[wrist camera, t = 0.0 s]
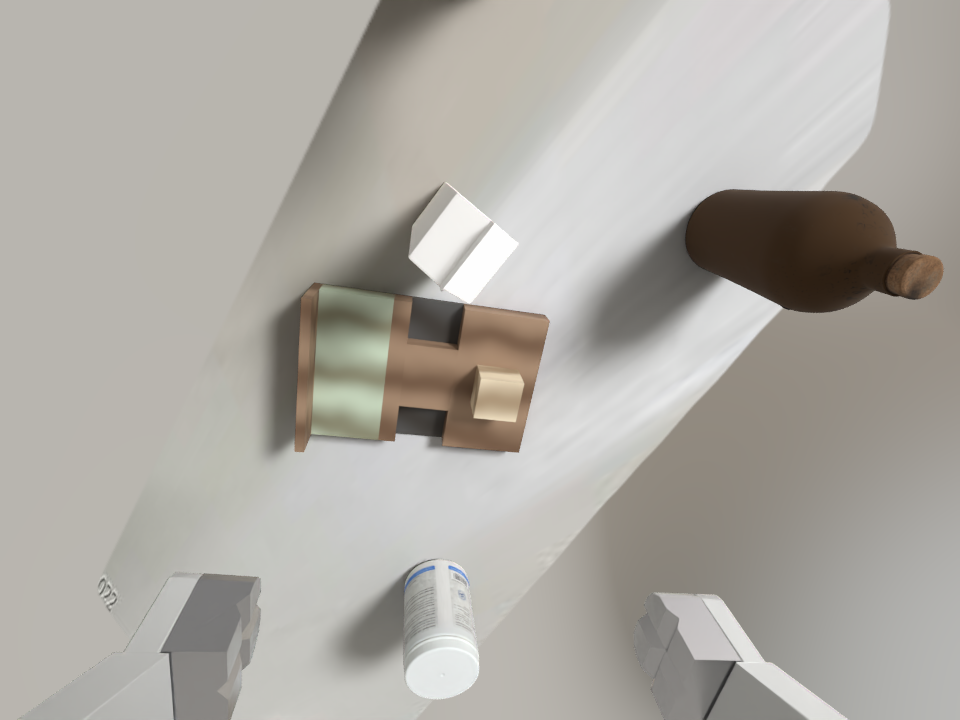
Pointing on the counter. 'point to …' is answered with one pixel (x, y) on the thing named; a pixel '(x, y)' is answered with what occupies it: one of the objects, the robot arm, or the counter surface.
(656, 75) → the counter surface
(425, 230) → the milk
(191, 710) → the robot arm
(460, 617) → the supplement tub
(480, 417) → the block
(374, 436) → the board
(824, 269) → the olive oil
